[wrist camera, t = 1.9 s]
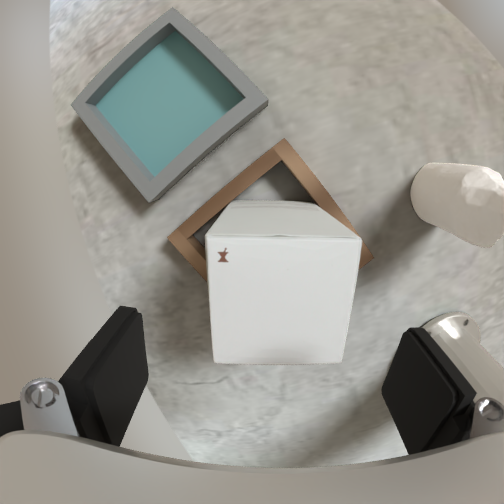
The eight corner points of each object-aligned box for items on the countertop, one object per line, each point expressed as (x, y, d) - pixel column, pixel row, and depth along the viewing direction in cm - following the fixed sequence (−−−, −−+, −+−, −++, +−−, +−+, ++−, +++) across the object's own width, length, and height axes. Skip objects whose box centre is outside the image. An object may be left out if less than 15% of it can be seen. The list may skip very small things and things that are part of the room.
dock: (267, 105, 23) (268, 99, 20) (159, 199, 25) (149, 202, 23) (179, 18, 20) (172, 7, 18) (84, 108, 23) (70, 104, 21)
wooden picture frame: (366, 251, 26) (374, 257, 24) (261, 328, 29) (261, 339, 27) (282, 140, 24) (284, 138, 22) (173, 232, 26) (167, 237, 24)
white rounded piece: (532, 261, 14) (485, 264, 14) (451, 224, 25) (406, 223, 25) (542, 176, 12) (495, 163, 12) (454, 165, 23) (408, 159, 24)
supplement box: (230, 280, 27) (207, 365, 15) (230, 198, 25) (200, 229, 13) (310, 282, 27) (343, 367, 15) (317, 201, 25) (365, 235, 13)
